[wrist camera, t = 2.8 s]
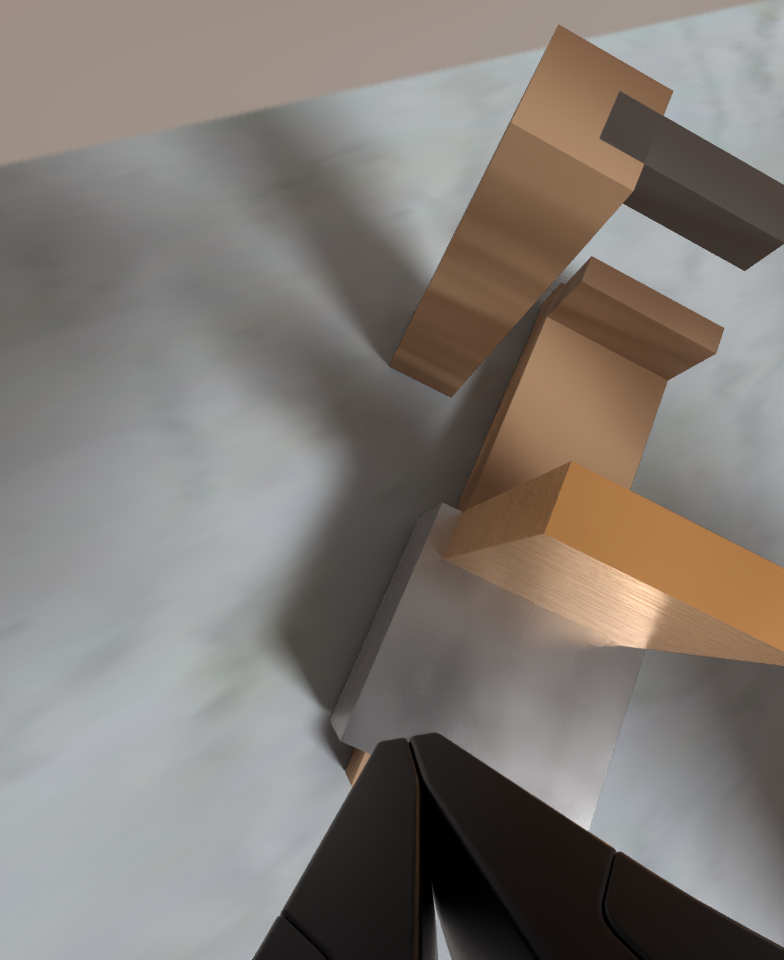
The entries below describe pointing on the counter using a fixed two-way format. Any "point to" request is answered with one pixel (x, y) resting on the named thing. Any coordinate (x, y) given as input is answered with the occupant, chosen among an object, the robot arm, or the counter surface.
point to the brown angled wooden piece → (580, 271)
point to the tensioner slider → (550, 627)
